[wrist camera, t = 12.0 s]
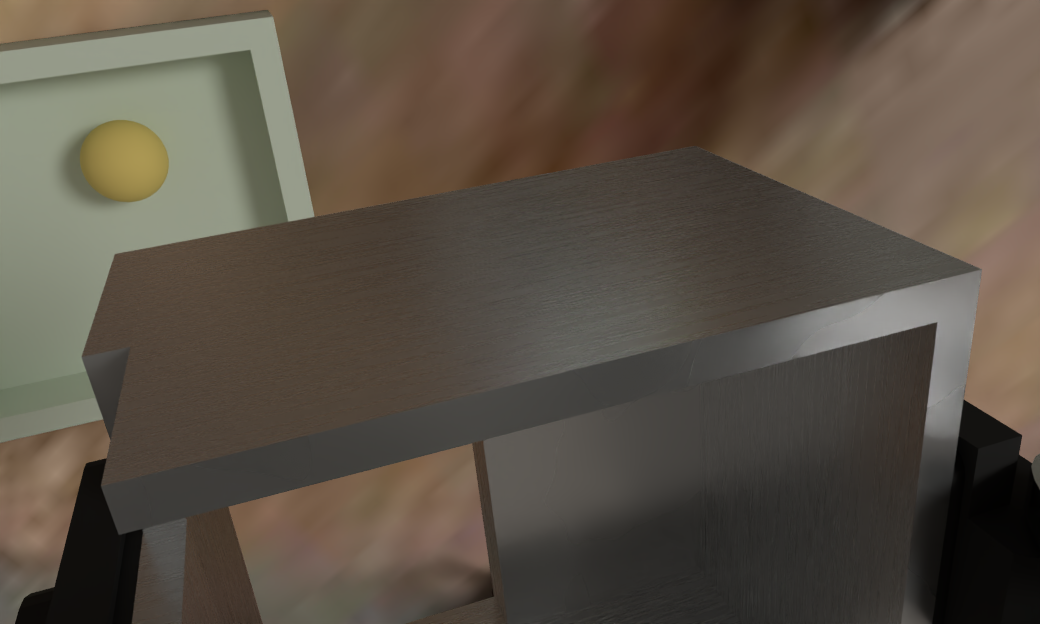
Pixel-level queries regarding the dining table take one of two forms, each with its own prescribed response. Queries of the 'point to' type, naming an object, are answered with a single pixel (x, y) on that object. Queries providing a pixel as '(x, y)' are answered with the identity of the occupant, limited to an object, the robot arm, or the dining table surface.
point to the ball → (124, 160)
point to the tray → (126, 225)
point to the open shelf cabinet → (558, 393)
